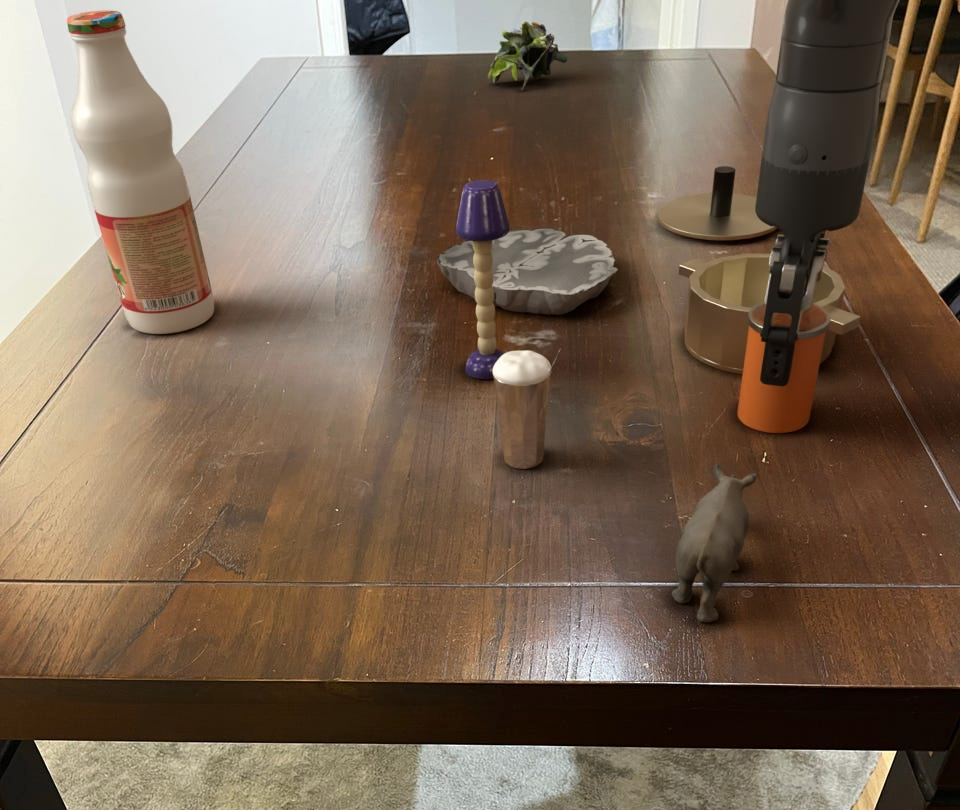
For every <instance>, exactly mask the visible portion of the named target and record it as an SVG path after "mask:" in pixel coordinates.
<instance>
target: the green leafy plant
mask: <svg viewBox="0 0 960 810" xmlns="http://www.w3.org/2000/svg"><path fill="white" fill-rule="evenodd" d="M501 36H502V37H503V38H504V39H505V40H506V41H503V40H499V43H498V44H499V45H500V48H499V49H498V52H497V54H496V55H495V57H494V59H493V61H492V62H491V64H490V69H489V72H488V73H487V79H488V80H489V81H490V80H491V78H492V81H493V84H494V85H496V84H497V82H498V81H499V80H500V77H501V75H502V74H503V73H504V72H506V71H507V70H510V69H511V76H512V78H513V79H514V80H515V81H518V78H519V77H518V70H519V71H522V77H523V80H524V81H523V85H522V87H521V92H522V91H524V89H525V87H526V85H527V83H528V81H529V79H530V76H531V75H532V76H531V77H532V78H534V79H535V80H540V79H541V76H542V75H543V76H549V77H550V76H551V73H552V70H551V64H552V63H553V62H554V61H557V62H560V63H567V62H568V58H567V56H565V55H564V54H562V53H561V52H560V51H559V46H558V44H557V43H554V42H555V38H556V37H555V36H554V34H552V33H548V34H547V29H546V26H545V24H544V23H541V24H540V23H538V22H536V21H532V22H531V24H530V23H529V22H528V21H524V22H522V24H521V27H519V29H517V28H513V30H512V31H510V32H509V31H507V30H505V29H503V30H502V31H501Z"/></svg>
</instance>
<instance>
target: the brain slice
mask: <svg viewBox="0 0 960 810" xmlns="http://www.w3.org/2000/svg"><path fill="white" fill-rule="evenodd" d="M474 253H475V251H474V249H473V245H472V241H470V240H465V241H462V242H460V243H457V244H454V245H451V246H449V247H448V248H447V249H445V250H444V252H443V253H440V254H439V255H438V256H437V257H436V263H437V266H438V268H439V269H440V272H441V274H442V275H443V276H444V277H445V278H446V279H448V281H449V282H450V283H451V285H452V286H453V287H454V288H455V289H456V290H457V291H458V292H459V293H462V294H463V295H467V296H468V297H471V298H473V299H474V300H475V289H476V285H475V281H474V273H475V270H476V269H475V267H474V264H473V256H474ZM491 253H492V256H493V265H492V268H491V269H492V272H493V277H494V278H493V284H492V287H493V290H494V300H493V304H494V307H500V308H501V309H502V310H505V311H510V312H514V313H529V314H535V315H546V316H550V315H554V316H561V315H566V314H568V313H570V312H572V311H574V310H575V309H576V308H577V307H579V306H581V305H582V304H583V303H584V302H587V301H588V300H589V299H595V298H597V297H598V296H599V295H600V294H601V293H602V292H603V291H604V290H605V288H606V287H607V285H608V283H609V282H610V280H611V278H612V277H613V276H614V275H616V273H618V268H617V267H616V266H615V265H616V257H614V256H613V250H612V249H611V248H610V247H608V244H607V243H606V242H605V241H604V240H602V239H599V238H598V237H596V236H594V235H592V234H586V233H576V234H570V235H567V236H566V233H565V231H564V230H559V229H554V228H550V227H538V228H533V229H516V230H509V232H508V234H507V235H506V236H504V237H502V238H499V239H495V240H493V245H492V249H491Z"/></svg>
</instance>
